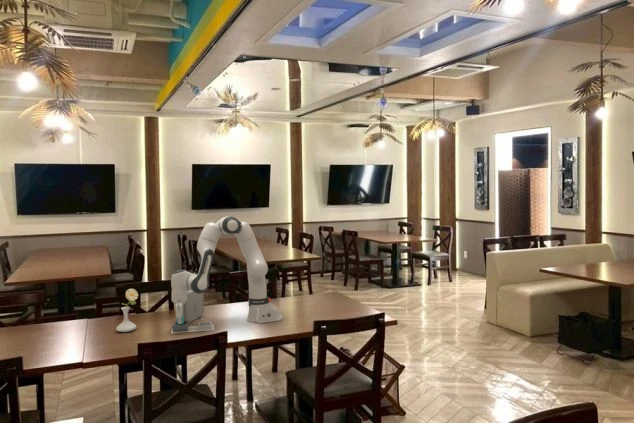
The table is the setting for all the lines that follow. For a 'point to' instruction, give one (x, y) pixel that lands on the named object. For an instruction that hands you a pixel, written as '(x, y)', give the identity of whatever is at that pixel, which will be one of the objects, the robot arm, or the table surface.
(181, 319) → the plug
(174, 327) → the port
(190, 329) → the board
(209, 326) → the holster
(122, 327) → the flower in vase
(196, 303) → the network device
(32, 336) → the table surface
